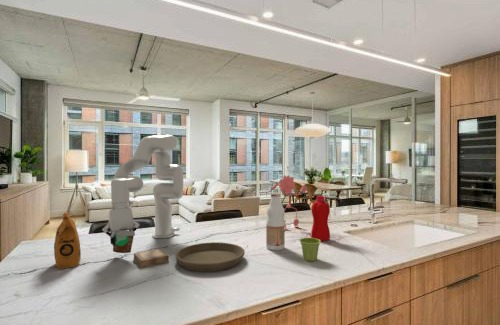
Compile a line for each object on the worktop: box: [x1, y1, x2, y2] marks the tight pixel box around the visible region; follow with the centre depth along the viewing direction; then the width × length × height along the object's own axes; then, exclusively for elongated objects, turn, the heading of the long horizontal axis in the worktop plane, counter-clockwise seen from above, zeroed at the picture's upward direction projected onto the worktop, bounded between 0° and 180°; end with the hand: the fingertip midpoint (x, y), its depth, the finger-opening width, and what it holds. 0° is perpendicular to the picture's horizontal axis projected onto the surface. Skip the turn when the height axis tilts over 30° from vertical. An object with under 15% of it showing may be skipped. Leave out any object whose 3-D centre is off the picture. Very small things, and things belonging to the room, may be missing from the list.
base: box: [133, 248, 170, 269], centre depth 131 cm, size 12×12×3 cm
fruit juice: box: [265, 192, 286, 251], centre depth 150 cm, size 9×9×28 cm
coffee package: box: [53, 212, 82, 270], centre depth 127 cm, size 10×12×22 cm
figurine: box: [269, 175, 308, 231], centre depth 196 cm, size 15×26×35 cm, turn 113°
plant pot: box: [299, 237, 321, 262], centre depth 133 cm, size 9×9×9 cm
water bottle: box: [310, 195, 331, 243], centre depth 165 cm, size 9×11×25 cm
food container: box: [112, 229, 136, 254], centre depth 134 cm, size 12×6×10 cm, turn 58°
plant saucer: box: [174, 242, 245, 273], centre depth 132 cm, size 31×31×5 cm
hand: (122, 243), depth 135 cm, fingers closed on food container, 6 cm apart
